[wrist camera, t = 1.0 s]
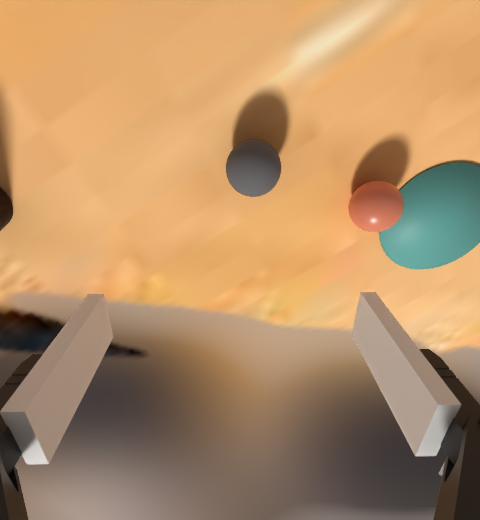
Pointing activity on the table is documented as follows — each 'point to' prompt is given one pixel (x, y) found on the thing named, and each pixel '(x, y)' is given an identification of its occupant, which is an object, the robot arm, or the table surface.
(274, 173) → the dark gray ball
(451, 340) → the table surface
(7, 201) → the coffee mug
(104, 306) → the robot arm
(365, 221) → the object ball
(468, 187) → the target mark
